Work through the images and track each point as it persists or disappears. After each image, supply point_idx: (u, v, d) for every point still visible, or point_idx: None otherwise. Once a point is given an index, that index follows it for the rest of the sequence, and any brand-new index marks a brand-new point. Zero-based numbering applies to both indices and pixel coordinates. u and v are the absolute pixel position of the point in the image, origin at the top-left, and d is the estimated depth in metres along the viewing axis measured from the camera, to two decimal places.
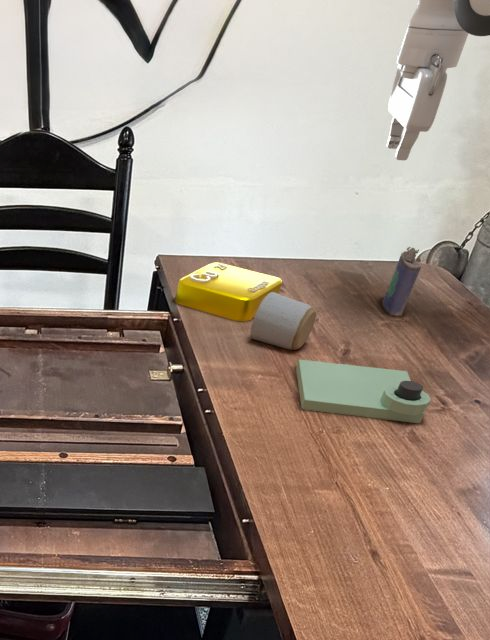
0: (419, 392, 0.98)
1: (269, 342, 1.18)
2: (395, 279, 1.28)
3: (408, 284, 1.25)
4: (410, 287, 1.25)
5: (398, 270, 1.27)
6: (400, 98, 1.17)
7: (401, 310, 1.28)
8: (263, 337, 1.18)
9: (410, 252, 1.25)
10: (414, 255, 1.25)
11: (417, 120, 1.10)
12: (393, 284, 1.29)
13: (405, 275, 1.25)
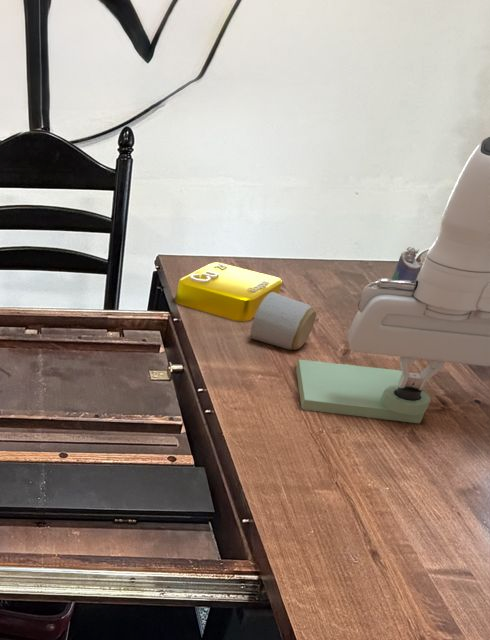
0: (418, 395, 0.98)
1: (269, 342, 1.18)
2: (395, 279, 1.28)
3: None
4: None
5: (398, 270, 1.27)
6: None
7: None
8: (263, 337, 1.18)
9: (410, 252, 1.25)
10: (414, 255, 1.25)
11: (348, 334, 0.97)
12: None
13: (405, 275, 1.25)
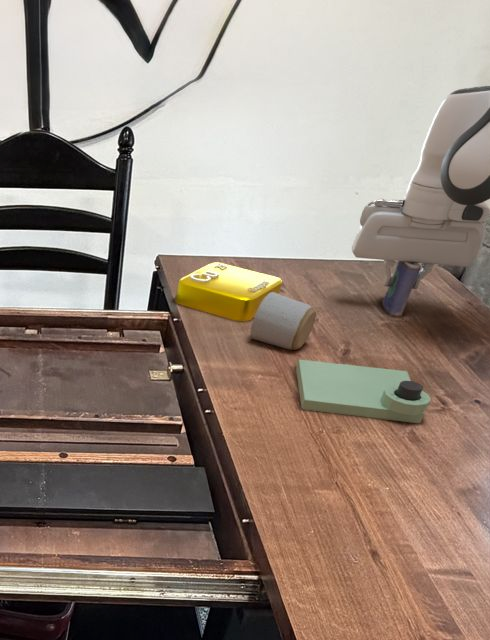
0: (419, 392, 0.98)
1: (269, 342, 1.18)
2: (395, 279, 1.28)
3: (408, 284, 1.25)
4: (410, 287, 1.25)
5: (398, 270, 1.27)
6: None
7: (401, 310, 1.28)
8: (263, 337, 1.18)
9: None
10: None
11: (353, 244, 1.28)
12: (393, 284, 1.29)
13: (405, 275, 1.25)
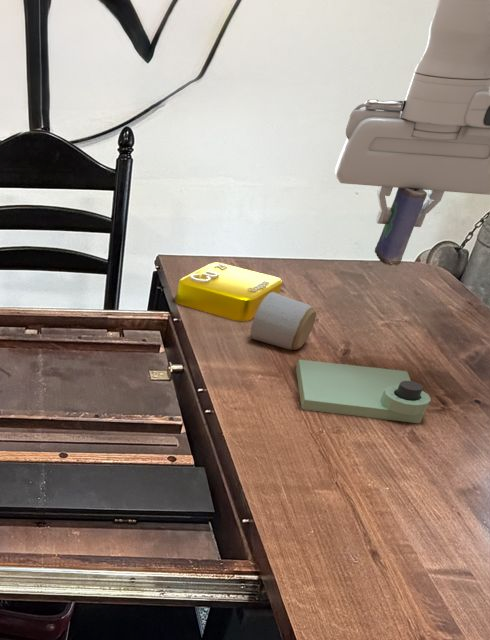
0: (419, 392, 0.98)
1: (269, 342, 1.18)
2: (393, 213, 0.96)
3: (410, 218, 0.93)
4: (412, 222, 0.94)
5: (397, 201, 0.96)
6: None
7: (400, 254, 0.96)
8: (263, 337, 1.18)
9: None
10: None
11: (336, 166, 0.96)
12: (390, 220, 0.97)
13: (405, 205, 0.93)
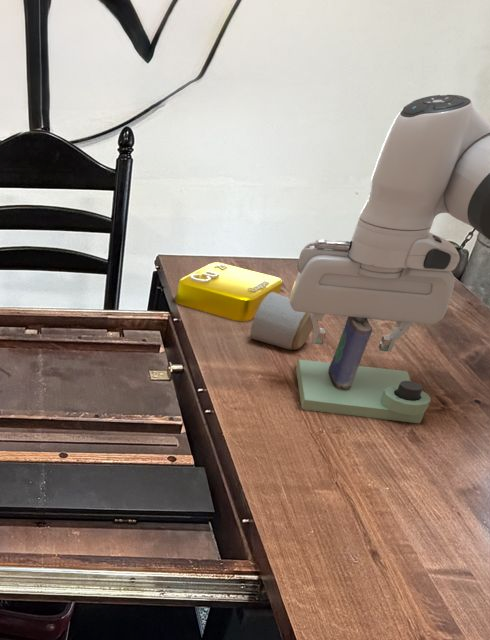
0: (419, 392, 0.98)
1: (269, 342, 1.18)
2: (342, 342, 1.03)
3: (357, 350, 1.00)
4: (360, 354, 1.00)
5: (346, 331, 1.02)
6: None
7: (350, 380, 1.03)
8: (263, 337, 1.18)
9: None
10: None
11: (290, 294, 1.02)
12: (340, 348, 1.03)
13: (353, 339, 0.99)
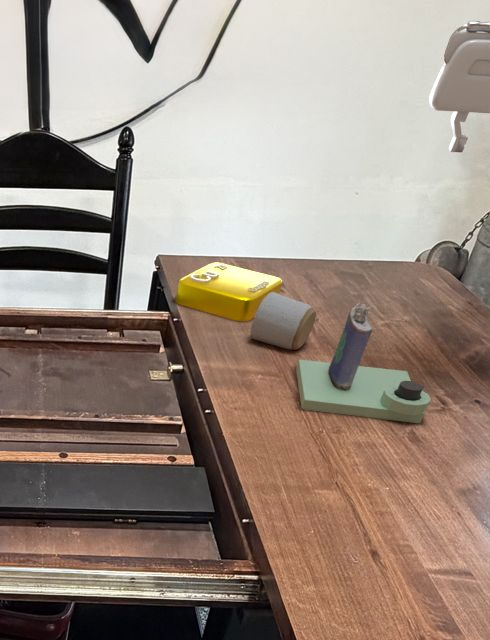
0: (419, 392, 0.98)
1: (269, 342, 1.18)
2: (342, 342, 1.03)
3: (357, 350, 1.00)
4: (360, 354, 1.00)
5: (346, 331, 1.02)
6: None
7: (350, 380, 1.03)
8: (263, 337, 1.18)
9: (360, 310, 1.00)
10: (365, 313, 1.00)
11: (431, 94, 0.94)
12: (340, 348, 1.03)
13: (353, 339, 0.99)
